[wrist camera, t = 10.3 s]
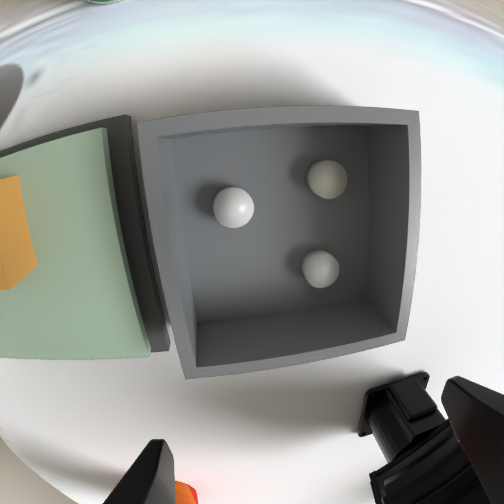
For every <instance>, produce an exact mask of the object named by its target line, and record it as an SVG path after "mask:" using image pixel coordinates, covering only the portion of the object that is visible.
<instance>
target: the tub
mask: <svg viewBox="0 0 504 504" xmlns="http://www.w3.org/2000/svg"><path fill="white" fill-rule="evenodd" d="M137 130H138V140H139V149H140V157H141V165H142V173H143V180H144V187H145V194H146V201H147V207H148V214H149V220H150V226H151V231H152V237H153V243H154V248H155V253H156V258H157V264H158V269H159V273H160V278H161V283H162V288H163V292H164V297H165V301H166V306H167V310H168V314H169V318H170V323H171V327H172V331H173V335H174V339H175V343H176V346H177V350H178V354H179V358H180V361H181V365H182V369H183V372H184V376H185V379H193V378H204V377H213V376H223V375H231V374H239V373H247V372H254V371H261V370H268V369H274V368H280V367H286V366H292V365H298V364H303V363H309V362H314V361H319V360H324V359H329V358H334V357H338V356H343V355H347V354H352V353H356V352H360V351H365V350H369V349H373V348H377V347H381V346H385V345H388V344H392V343H396V342H400V341H403V340H405V337H406V331H407V326H408V320H409V315H410V308H411V302H412V295H413V288H414V280H415V272H416V263H417V253H418V241H419V227H420V208H421V139H420V121H419V111H414V110H404V109H392V108H378V107H359V106H279V107H259V108H245V109H233V110H222V111H213V112H204V113H196V114H188V115H181V116H174V117H168V118H161V119H155V120H150V121H144V122H139V123H137Z"/></svg>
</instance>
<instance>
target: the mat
mask: <svg viewBox="0 0 504 504" xmlns="http://www.w3.org/2000/svg"><path fill="white" fill-rule="evenodd" d="M98 128H107V136H108V145H109V154H110V162H111V170H112V177H113V184H114V190H115V196H116V203H117V208H118V214H119V220H120V225H121V230H122V235H123V240H124V245H125V250H126V255H127V259H128V264H129V268H130V273H131V277H132V281H133V285H134V289H135V293H136V297H137V301H138V305H139V308H140V312H141V316H142V319H143V323H144V327H145V330H146V333H147V337H148V340H149V344H150V347H151V351H150V352H162V351H169V347H170V339H169V335H168V331H167V327H166V323H165V319H164V315H163V311H162V307H161V303H160V299H159V294H158V290H157V285H156V281H155V276H154V271H153V266H152V262H151V257H150V251H149V246H148V241H147V236H146V230H145V224H144V219H143V213H142V206H141V200H140V194H139V187H138V180H137V172H136V165H135V157H134V148H133V139H132V129H131V119H130V116H128V115H122V116H117V117H112V118H108V119H104V120H100V121H95V122H91V123H88V124H84V125H80V126H76V127H73V128H69V129H65V130H62V131H59V132H55V133H52V134H49V135H46V136H42V137H39V138H36V139H33V140H30V141H27V142H25V143H22V144H19V145H16V146H13V147H11V148H8V149H5V150H3V151H0V158H2V157H5V156H7V155H10V154H13V153H16V152H19V151H21V150H24V149H27V148H30V147H33V146H37V145H40V144H43V143H46V142H49V141H53V140H56V139H60V138H63V137H67V136H70V135H74V134H78V133H81V132H85V131H89V130H93V129H98Z"/></svg>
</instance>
